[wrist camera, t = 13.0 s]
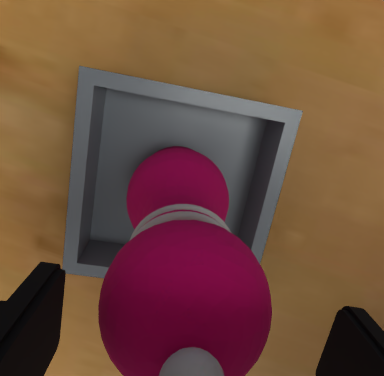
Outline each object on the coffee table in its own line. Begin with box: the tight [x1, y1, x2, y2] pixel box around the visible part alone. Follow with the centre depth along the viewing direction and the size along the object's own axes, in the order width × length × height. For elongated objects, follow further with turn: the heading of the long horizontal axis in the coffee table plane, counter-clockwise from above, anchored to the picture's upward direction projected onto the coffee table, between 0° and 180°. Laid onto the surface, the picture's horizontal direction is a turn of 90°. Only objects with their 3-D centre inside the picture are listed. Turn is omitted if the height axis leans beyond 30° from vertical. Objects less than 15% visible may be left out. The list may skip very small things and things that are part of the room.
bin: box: [62, 66, 303, 278], centre depth 25 cm, size 15×15×5 cm
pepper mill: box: [99, 146, 272, 376], centre depth 17 cm, size 7×7×20 cm
